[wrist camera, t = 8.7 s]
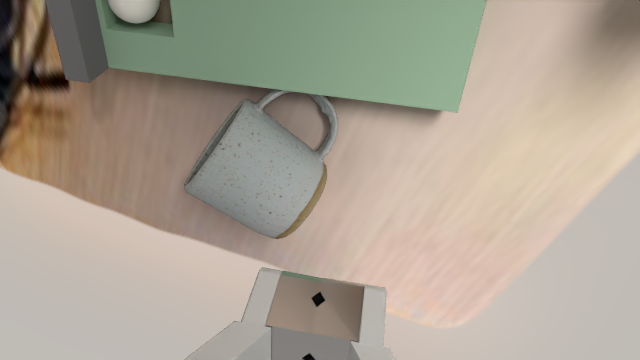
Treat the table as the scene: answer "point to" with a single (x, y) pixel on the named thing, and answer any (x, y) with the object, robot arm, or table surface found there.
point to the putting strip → (285, 45)
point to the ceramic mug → (262, 169)
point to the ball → (134, 9)
